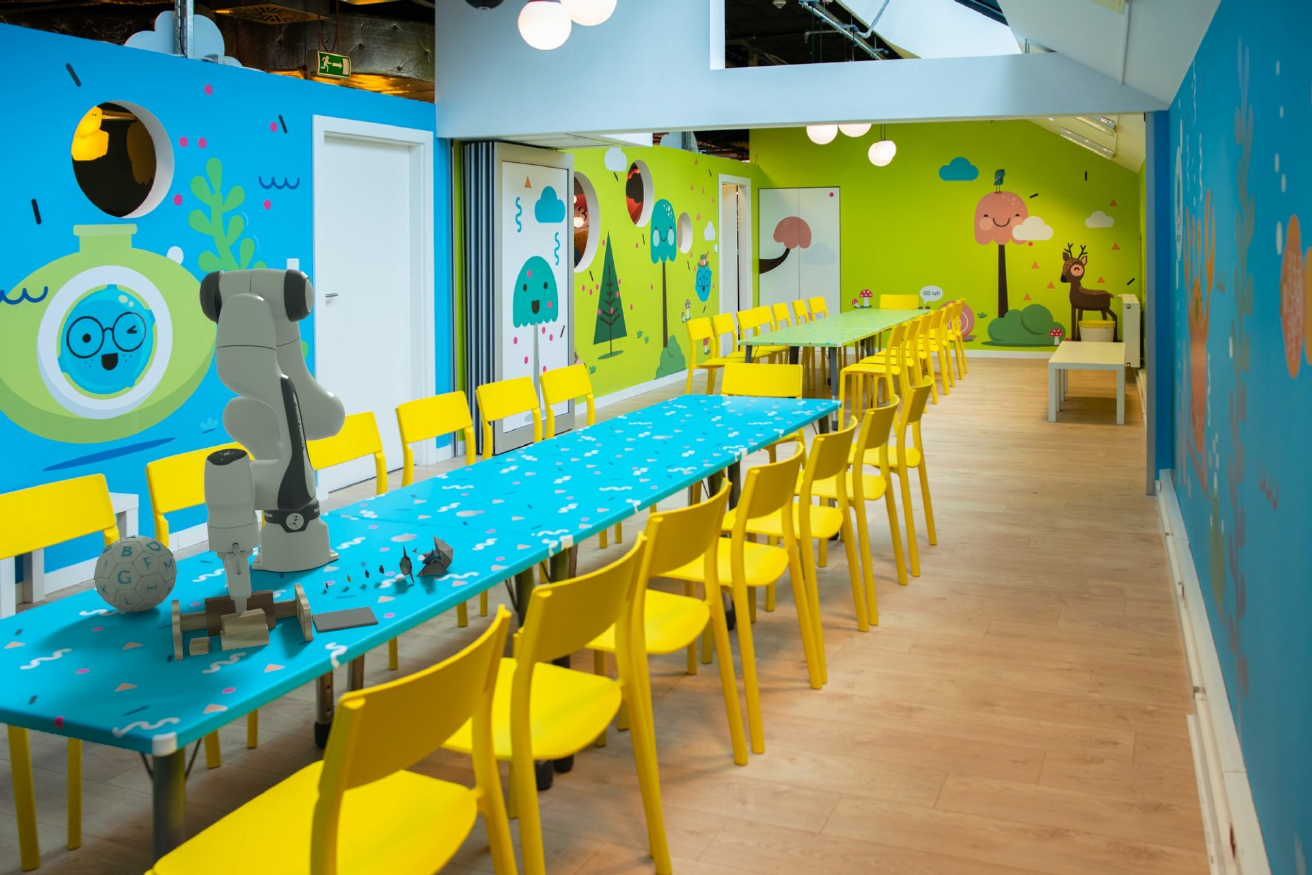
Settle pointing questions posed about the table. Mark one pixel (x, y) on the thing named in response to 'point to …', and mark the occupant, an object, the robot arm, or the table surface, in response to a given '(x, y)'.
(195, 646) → the offcut
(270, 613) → the walnut board
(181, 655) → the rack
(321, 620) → the mat
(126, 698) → the table surface
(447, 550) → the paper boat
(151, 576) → the puzzle ball
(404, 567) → the toy fish set
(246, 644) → the offcut
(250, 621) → the offcut
